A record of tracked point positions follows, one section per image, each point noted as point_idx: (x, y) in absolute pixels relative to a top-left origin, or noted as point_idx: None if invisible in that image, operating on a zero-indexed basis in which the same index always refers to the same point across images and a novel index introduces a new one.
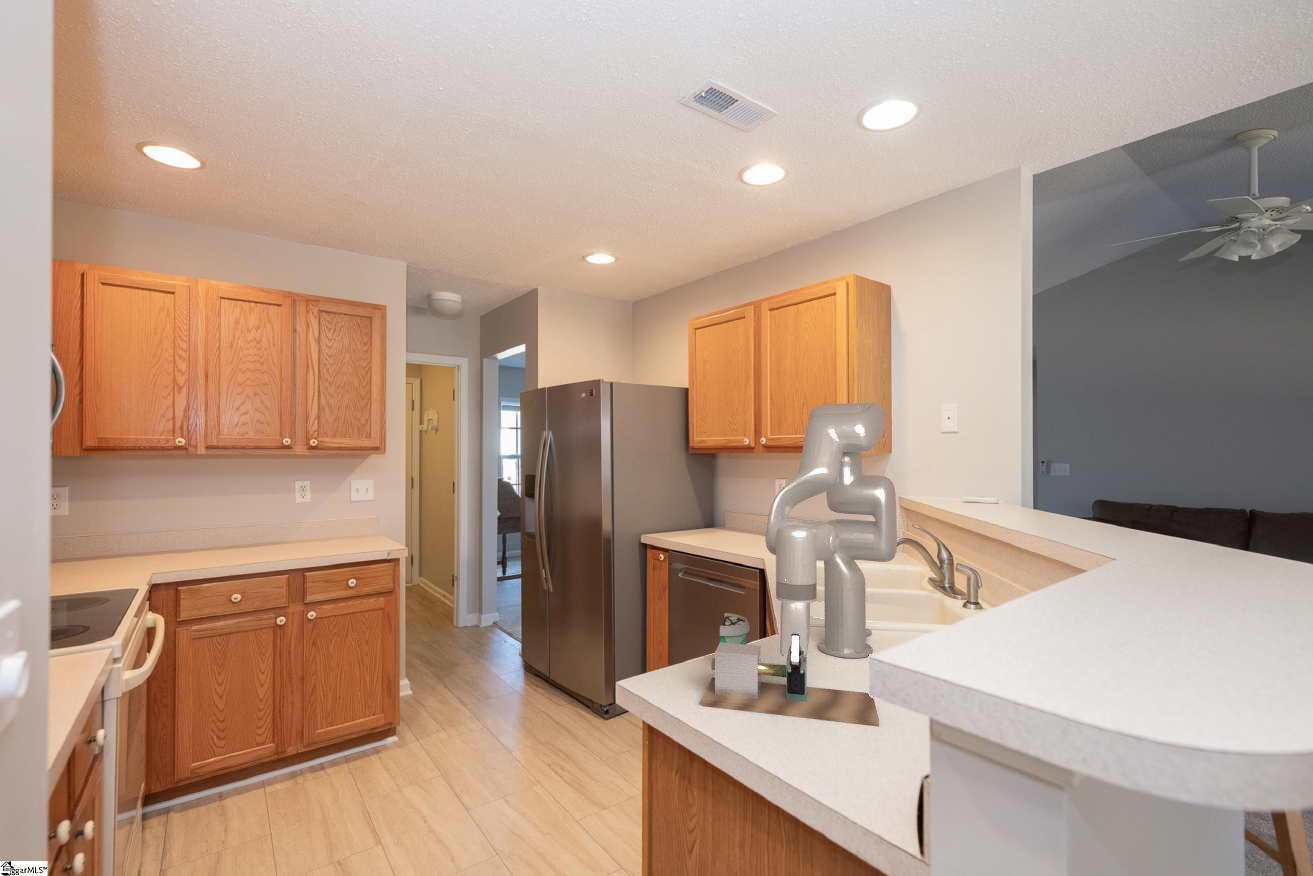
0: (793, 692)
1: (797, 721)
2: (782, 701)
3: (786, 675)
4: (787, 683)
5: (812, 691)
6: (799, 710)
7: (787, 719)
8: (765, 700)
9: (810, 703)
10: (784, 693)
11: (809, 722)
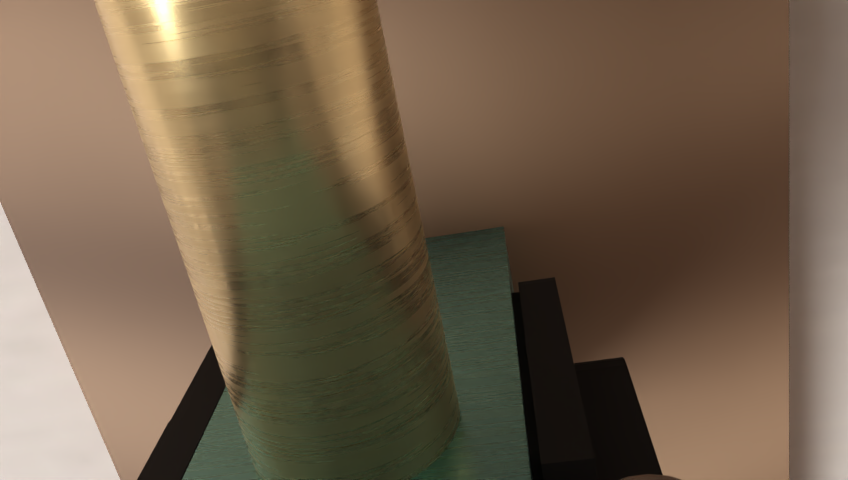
0: None
1: (29, 374)
2: None
3: (204, 435)
4: (192, 392)
5: None
6: (96, 413)
7: (10, 294)
8: None
9: None
10: (458, 203)
11: (75, 456)
